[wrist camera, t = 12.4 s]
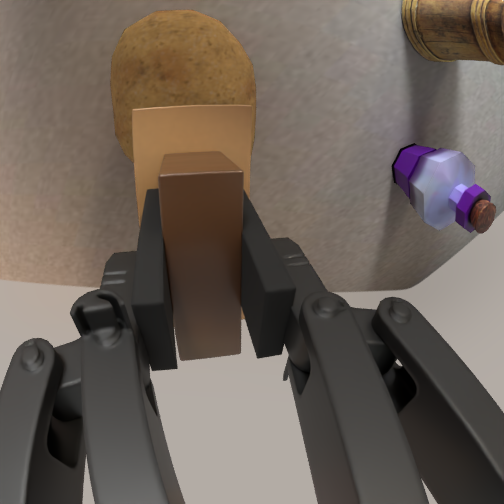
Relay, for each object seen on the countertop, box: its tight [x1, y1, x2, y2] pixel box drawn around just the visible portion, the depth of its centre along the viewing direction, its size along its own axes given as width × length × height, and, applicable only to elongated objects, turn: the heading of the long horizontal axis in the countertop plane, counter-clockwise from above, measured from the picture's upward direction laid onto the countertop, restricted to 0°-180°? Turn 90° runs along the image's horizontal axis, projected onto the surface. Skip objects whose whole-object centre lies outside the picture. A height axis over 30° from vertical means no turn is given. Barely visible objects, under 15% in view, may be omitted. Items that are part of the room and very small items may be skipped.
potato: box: [110, 10, 256, 163], centre depth 18 cm, size 10×14×8 cm
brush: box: [132, 105, 252, 361], centre depth 13 cm, size 11×5×8 cm, turn 177°
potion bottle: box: [392, 143, 496, 233], centre depth 24 cm, size 9×9×12 cm
